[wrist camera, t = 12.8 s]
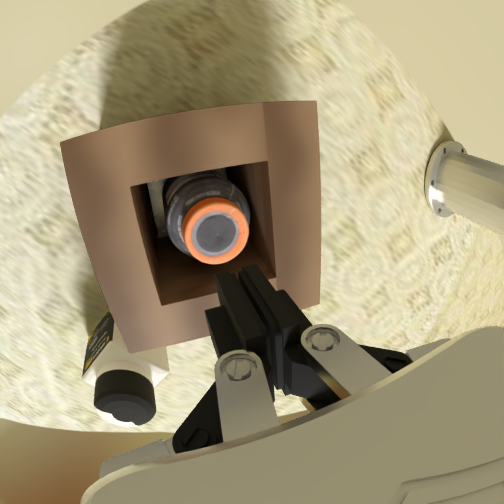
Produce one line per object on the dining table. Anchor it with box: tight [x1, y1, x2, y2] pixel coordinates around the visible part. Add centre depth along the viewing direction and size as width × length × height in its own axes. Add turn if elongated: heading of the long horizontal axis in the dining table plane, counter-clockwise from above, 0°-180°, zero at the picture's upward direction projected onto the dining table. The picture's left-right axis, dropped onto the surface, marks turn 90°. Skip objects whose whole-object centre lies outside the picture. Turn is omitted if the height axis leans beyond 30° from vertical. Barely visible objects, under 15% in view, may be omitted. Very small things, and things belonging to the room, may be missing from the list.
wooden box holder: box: [60, 101, 321, 354], centre depth 23 cm, size 15×15×12 cm
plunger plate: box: [147, 167, 226, 238], centre depth 28 cm, size 7×7×1 cm
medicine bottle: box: [82, 310, 169, 427], centre depth 27 cm, size 7×7×12 cm
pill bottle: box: [162, 169, 250, 264], centre depth 22 cm, size 6×6×11 cm
